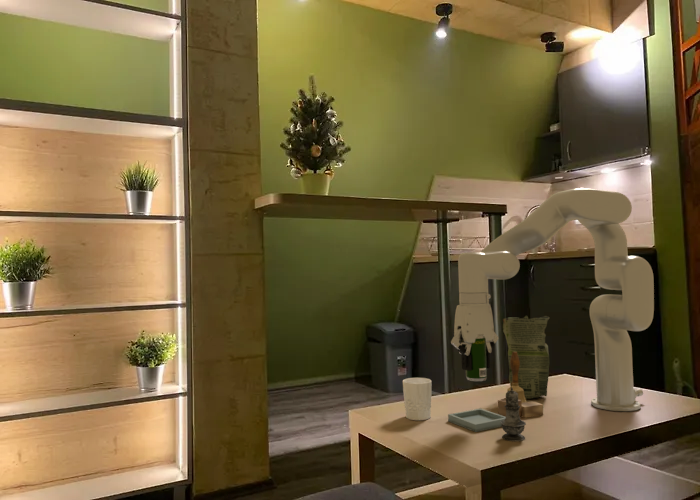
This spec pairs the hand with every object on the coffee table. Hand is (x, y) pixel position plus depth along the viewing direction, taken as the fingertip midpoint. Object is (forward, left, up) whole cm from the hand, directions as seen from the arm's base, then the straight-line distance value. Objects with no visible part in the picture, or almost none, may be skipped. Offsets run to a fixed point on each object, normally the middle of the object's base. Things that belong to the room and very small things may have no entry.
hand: (476, 368), depth 142 cm
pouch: (-32, -14, -15) cm, 38 cm away
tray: (0, 0, -14) cm, 14 cm away
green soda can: (0, 0, -3) cm, 3 cm away
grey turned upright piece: (+1, +14, -15) cm, 20 cm away
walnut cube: (-11, 0, -14) cm, 18 cm away
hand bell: (-19, -6, -15) cm, 25 cm away
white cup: (+10, -13, -15) cm, 22 cm away
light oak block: (-17, +1, -15) cm, 22 cm away
